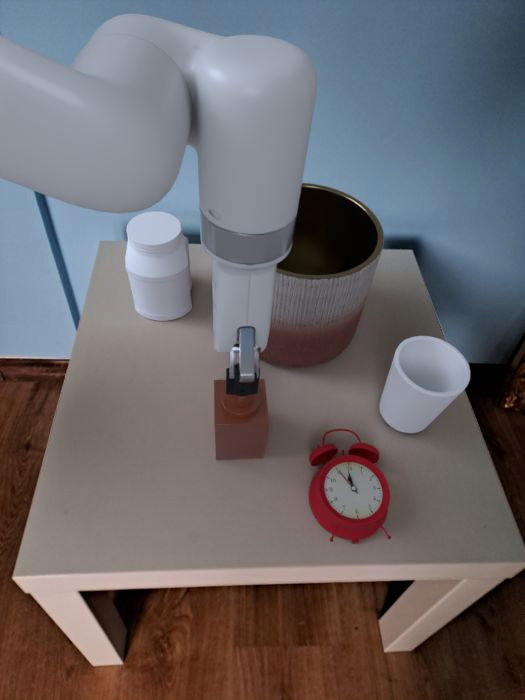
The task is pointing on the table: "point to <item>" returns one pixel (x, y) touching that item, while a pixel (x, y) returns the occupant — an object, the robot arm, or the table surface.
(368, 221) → the planter
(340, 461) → the alarm clock
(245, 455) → the brown handled box
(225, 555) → the table surface
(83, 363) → the table surface
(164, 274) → the jar
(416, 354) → the cup
